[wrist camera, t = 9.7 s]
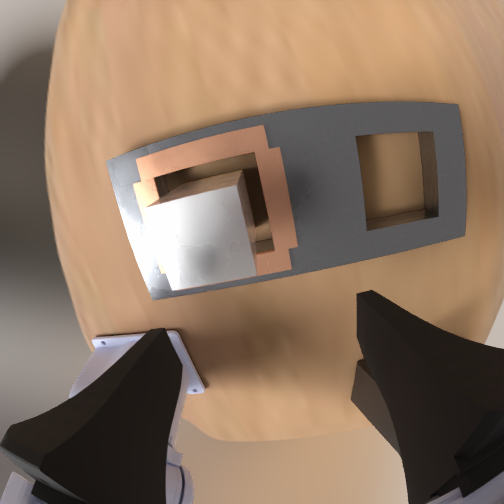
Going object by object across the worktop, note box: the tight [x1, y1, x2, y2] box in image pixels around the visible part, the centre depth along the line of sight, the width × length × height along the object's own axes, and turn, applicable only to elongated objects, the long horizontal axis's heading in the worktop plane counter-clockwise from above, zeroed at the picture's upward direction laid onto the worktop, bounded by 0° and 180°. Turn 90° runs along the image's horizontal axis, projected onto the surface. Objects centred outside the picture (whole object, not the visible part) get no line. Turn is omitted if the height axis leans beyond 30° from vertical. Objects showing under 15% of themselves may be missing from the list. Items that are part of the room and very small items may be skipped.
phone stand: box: [351, 359, 404, 468], centre depth 19 cm, size 9×6×12 cm, turn 97°
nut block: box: [144, 169, 257, 291], centre depth 15 cm, size 4×4×7 cm
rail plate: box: [106, 102, 466, 300], centre depth 16 cm, size 24×10×2 cm, turn 102°
